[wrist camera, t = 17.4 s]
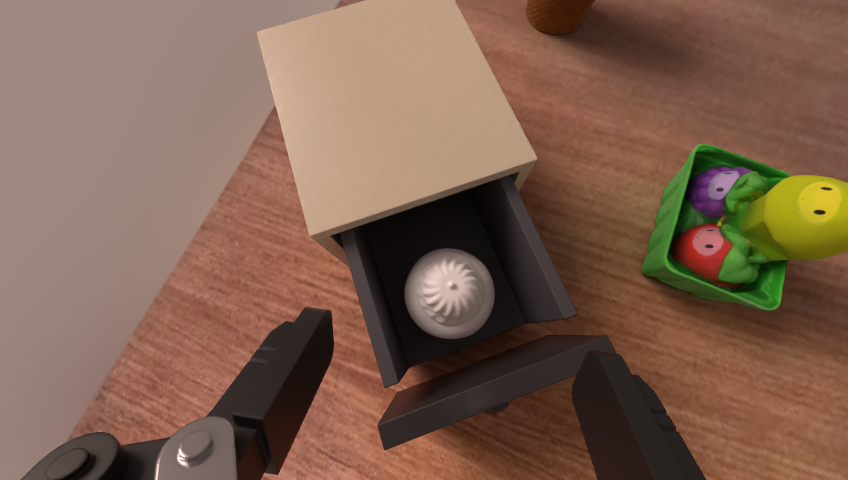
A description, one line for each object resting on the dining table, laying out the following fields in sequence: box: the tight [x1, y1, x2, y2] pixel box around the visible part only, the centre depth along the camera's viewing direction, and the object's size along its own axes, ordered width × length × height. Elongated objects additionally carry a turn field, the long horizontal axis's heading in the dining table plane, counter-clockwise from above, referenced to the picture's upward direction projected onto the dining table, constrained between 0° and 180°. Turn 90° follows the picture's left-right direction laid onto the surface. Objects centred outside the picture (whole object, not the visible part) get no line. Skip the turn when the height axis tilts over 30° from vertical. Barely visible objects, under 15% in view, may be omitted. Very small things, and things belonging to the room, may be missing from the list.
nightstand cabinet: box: [257, 0, 538, 268], centre depth 25 cm, size 16×14×11 cm
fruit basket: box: [641, 144, 848, 311], centre depth 22 cm, size 11×9×11 cm
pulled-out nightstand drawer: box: [340, 175, 616, 450], centre depth 22 cm, size 16×13×9 cm
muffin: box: [404, 248, 495, 339], centre depth 21 cm, size 6×6×7 cm
